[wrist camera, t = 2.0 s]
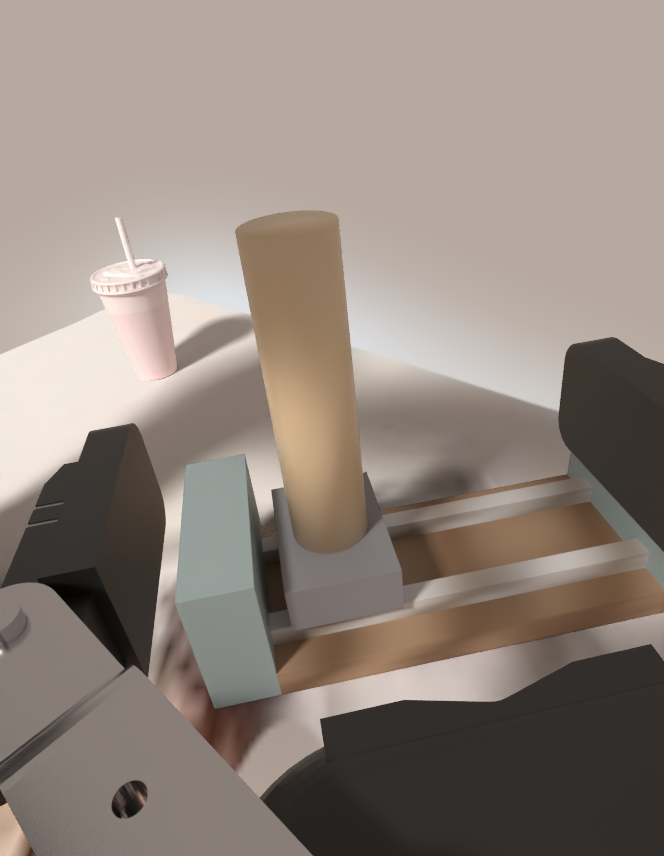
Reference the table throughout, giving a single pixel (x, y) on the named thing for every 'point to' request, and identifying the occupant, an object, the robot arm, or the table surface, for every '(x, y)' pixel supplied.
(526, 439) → the table surface
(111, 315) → the smoothie
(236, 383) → the table surface
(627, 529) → the pair of sage blocks
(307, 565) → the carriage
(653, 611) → the rail bed
